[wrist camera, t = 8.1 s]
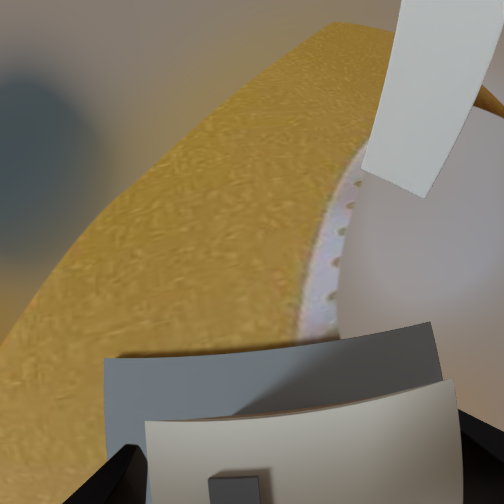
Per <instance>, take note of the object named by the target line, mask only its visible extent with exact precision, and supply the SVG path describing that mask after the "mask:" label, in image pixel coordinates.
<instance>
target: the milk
mask: <svg viewBox="0 0 504 504" xmlns="http://www.w3.org/2000/svg"><path fill="white" fill-rule="evenodd" d="M503 24H504V0H402V1H401V7H400V12H399V18H398V23H397V28H396V33H395V38H394V43H393V47H392V52H391V56H390V61H389V65H388V70H387V74H386V78H385V82H384V86H383V90H382V94H381V98H380V102H379V106H378V110H377V114H376V117H375V121H374V125H373V128H372V132H371V135H370V139H369V142H368V146H367V149H366V153H365V156H364V159H363V163H362V166H361V169H362V170H364V171H367V172H369V173H371V174H373V175H375V176H378V177H380V178H382V179H384V180H387V181H388V182H390V183H393V184H395V185H397V186H399V187H401V188H403V189H405V190H407V191H409V192H411V193H413V194H415V195H417V196H419V197H421V198H423V199H425V197H426V196H427V194H428V192H429V191H430V189H431V187H432V185H433V183H434V182H435V180H436V178H437V176H438V174H439V173H440V171H441V169H442V167H443V165H444V163H445V161H446V160H447V158H448V156H449V154H450V152H451V150H452V148H453V146H454V144H455V142H456V140H457V138H458V136H459V134H460V132H461V130H462V128H463V126H464V123H465V121H466V119H467V117H468V115H469V113H470V111H471V108H472V106H473V104H474V102H475V99H476V97H477V95H478V92H479V90H480V88H481V85H482V82H483V80H484V78H485V75H486V73H487V70H488V67H489V65H490V62H491V59H492V57H493V54H494V51H495V48H496V46H497V43H498V40H499V37H500V33H501V31H502V28H503Z"/></svg>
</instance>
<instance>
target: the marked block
mask: <svg viewBox="0 0 504 504" xmlns="http://www.w3.org/2000/svg"><path fill="white" fill-rule="evenodd" d="M145 434H146V448H147V460H148V470H149V480H150V488H151V496H152V504H463V463H462V446H461V434H460V424H459V415H458V408H457V400H456V394H455V387H454V381H453V378H450V379H447V380H443V381H439V382H436V383H432V384H428V385H425V386H421V387H417V388H413V389H409V390H404V391H400V392H395V393H391V394H386V395H381V396H376V397H371V398H365V399H360V400H354V401H348V402H341V403H335V404H327V405H321V406H314V407H308V408H301V409H293V410H285V411H277V412H267V413H256V414H243V415H229V416H220V417H209V418H197V419H182V420H158V421H145Z"/></svg>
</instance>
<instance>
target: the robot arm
mask: <svg viewBox="0 0 504 504" xmlns="http://www.w3.org/2000/svg"><path fill="white" fill-rule="evenodd" d="M458 415H459V424H460V434H461V446H462V463H463V504H504V432H503V431H501V430H499V429H497V428H495V427H493V426H491V425H489V424H487V423H485V422H483V421H481V420H479V419H477V418H475V417H473V416H471V415H469V414H467V413H465V412H463V411H461V410H459V409H458ZM147 475H148V461H147V459H146V457H145V455H144V453H143V451H142V449H141V448H140V446H139V445H137V444H125V445H124V446H123V447H122V448H121V449H120V450H119V451H117V452H116V453H115V454H114V455H113V456H112V457H111V458H110V459H109V460H108V461H107V462H106V463H105V464H104V465H103V466H102V467H101V468H100V469H99V470H98V471H97V472H96V473H95V474H94V475H93V476H91V477H90V478H89V479H88V480H87V481H86V482H85V483H84V484H83V485H82V486H81V487H80V488H79V489H78V490H77V491H75V492H74V493H73V494H72V495H71V496H70V497H69V498H68V499H67V500H66V501H65V502H63V503H62V504H146V492H147Z"/></svg>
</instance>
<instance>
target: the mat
mask: <svg viewBox="0 0 504 504" xmlns="http://www.w3.org/2000/svg"><path fill="white" fill-rule="evenodd" d="M439 381H443V378H442V372H441V367H440V362H439V357H438V352H437V348H436V344H435V339H434V335H433V331H432V327H431V323H430V322H426V323H422V324H418V325H414V326H409V327H404V328H400V329H395V330H390V331H385V332H381V333H375V334H370V335H365V336H360V337H354V338H348V339H342V340H336V341H330V342H324V343H317V344H310V345H303V346H296V347H288V348H280V349H271V350H262V351H253V352H242V353H231V354H219V355H204V356H187V357H164V358H104V415H105V434H106V448H107V459H108V460H109V459H110V458H111V457H112V456H113V455H114V454H115V453H116V452H117V451H119V450H120V449H121V448H122V447H123V446H124V445H125V444H137V445H139V446H140V448H141V449H142V451H143V453H144V455H145V457H146V459H147V448H146V434H145V421H158V420H182V419H197V418H209V417H220V416H229V415H243V414H256V413H267V412H277V411H285V410H293V409H301V408H308V407H314V406H321V405H327V404H335V403H341V402H348V401H354V400H360V399H365V398H371V397H376V396H381V395H386V394H391V393H395V392H400V391H404V390H409V389H413V388H417V387H421V386H425V385H428V384H432V383H436V382H439ZM147 461H148V460H147ZM146 504H152V496H151V488H150V480H149V470H148V475H147V492H146Z"/></svg>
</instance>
